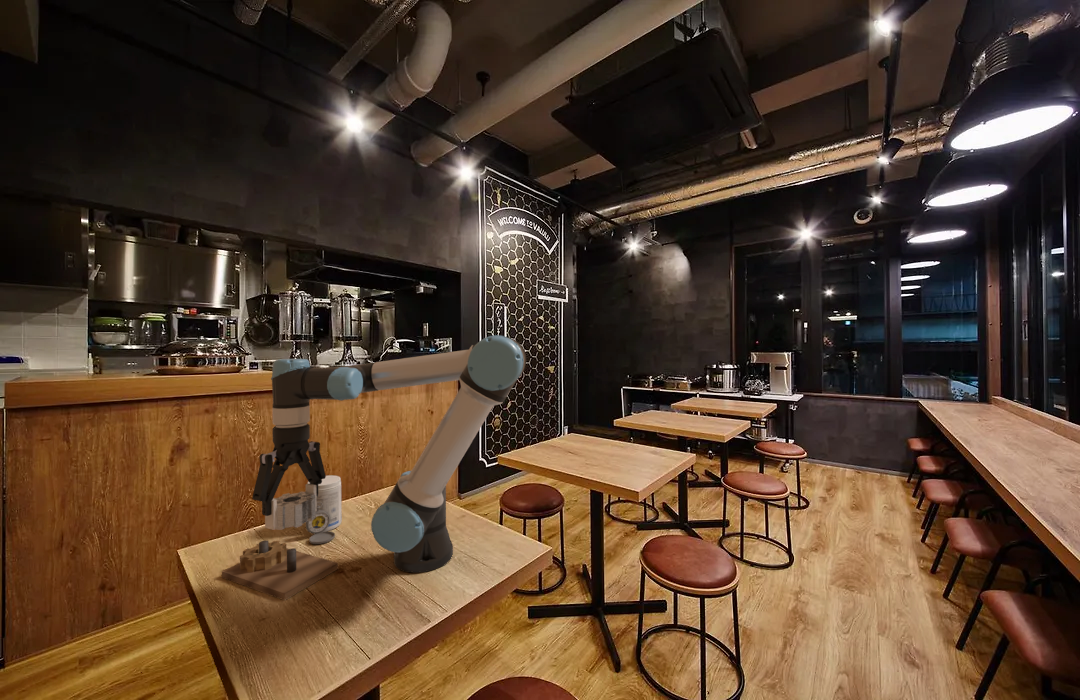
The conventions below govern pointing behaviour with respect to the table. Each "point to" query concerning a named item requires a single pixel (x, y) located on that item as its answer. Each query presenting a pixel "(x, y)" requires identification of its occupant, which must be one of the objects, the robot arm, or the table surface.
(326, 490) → the supplement tub
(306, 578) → the gear board
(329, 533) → the pocket watch
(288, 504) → the steel gear
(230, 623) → the table surface
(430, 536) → the robot arm
